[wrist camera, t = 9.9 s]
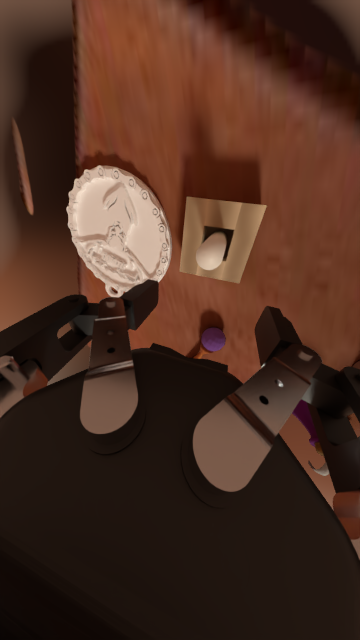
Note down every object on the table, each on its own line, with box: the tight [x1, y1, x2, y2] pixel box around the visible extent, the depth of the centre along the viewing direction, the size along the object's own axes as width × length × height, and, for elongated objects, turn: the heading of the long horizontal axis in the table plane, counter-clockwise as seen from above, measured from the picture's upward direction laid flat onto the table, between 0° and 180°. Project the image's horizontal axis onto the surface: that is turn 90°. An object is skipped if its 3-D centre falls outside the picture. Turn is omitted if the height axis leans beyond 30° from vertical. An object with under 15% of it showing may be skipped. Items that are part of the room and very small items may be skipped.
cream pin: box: [196, 231, 227, 270], centre depth 22 cm, size 3×3×12 cm
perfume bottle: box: [292, 399, 329, 476], centre depth 38 cm, size 8×8×18 cm
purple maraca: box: [193, 327, 226, 359], centre depth 43 cm, size 6×6×20 cm
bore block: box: [180, 197, 267, 283], centre depth 26 cm, size 11×11×5 cm
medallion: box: [67, 165, 172, 298], centre depth 34 cm, size 24×27×2 cm
